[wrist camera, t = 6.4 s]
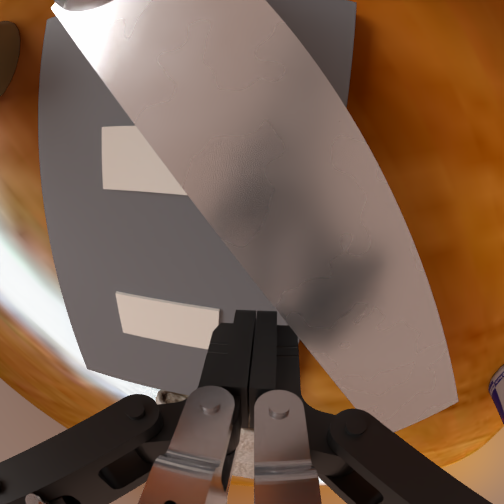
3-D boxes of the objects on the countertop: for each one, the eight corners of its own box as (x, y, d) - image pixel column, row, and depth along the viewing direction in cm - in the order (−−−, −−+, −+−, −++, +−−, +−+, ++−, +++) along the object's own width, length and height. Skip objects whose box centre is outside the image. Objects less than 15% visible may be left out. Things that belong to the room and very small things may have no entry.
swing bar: (159, -80, 4) (137, -106, 3) (445, 370, 12) (458, 401, 10) (68, -7, 6) (33, -18, 4) (373, 405, 13) (380, 437, 11)
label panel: (351, 1, 9) (383, -42, 5) (279, 395, 21) (277, 453, 16) (61, 14, 10) (0, 2, 5) (93, 358, 21) (67, 403, 17)
